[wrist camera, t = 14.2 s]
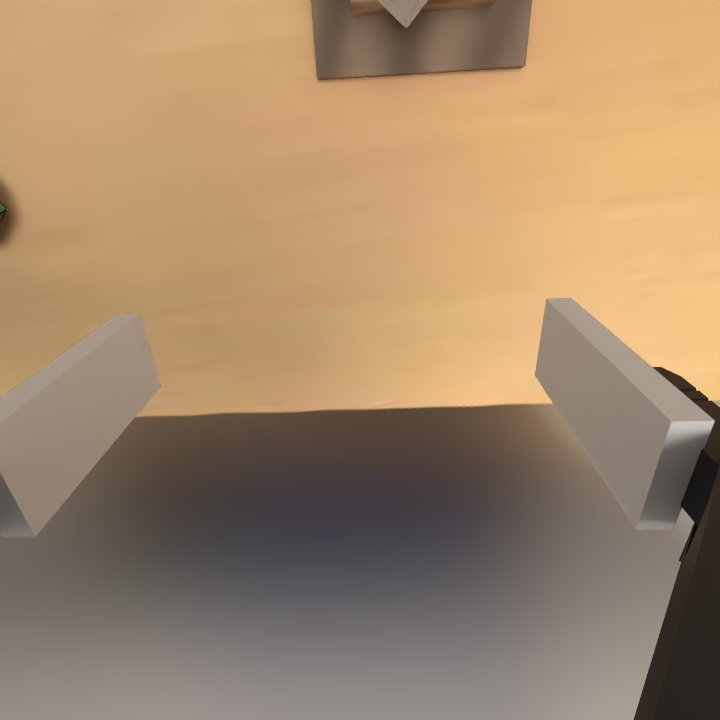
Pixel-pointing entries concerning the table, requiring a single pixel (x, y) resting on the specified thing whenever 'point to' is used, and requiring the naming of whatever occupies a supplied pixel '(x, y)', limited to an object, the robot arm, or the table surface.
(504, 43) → the ridge board
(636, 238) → the table surface
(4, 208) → the geometric puzzle
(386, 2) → the skincare box
